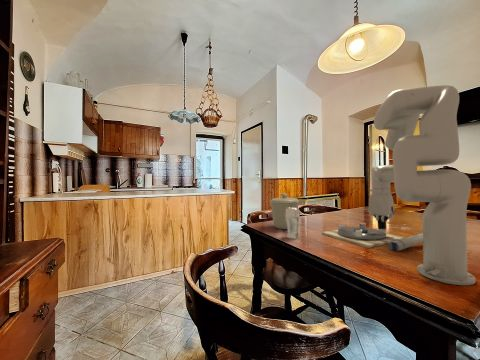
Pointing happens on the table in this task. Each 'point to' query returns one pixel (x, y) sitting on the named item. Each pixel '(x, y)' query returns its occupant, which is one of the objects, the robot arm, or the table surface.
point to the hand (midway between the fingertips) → (381, 229)
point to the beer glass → (292, 222)
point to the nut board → (363, 243)
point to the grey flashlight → (405, 242)
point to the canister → (282, 209)
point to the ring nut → (362, 232)
